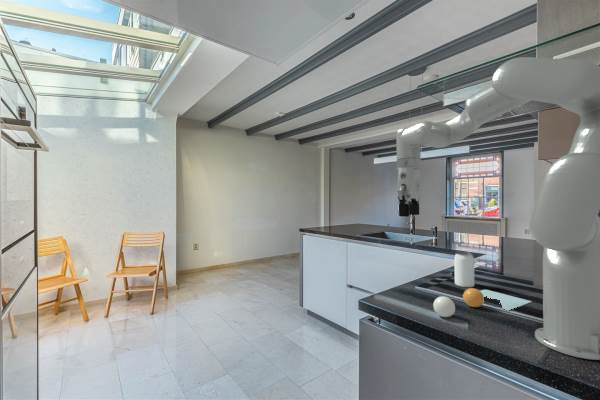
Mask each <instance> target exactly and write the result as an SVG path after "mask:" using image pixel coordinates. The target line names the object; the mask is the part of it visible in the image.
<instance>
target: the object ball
mask: <svg viewBox="0 0 600 400" xmlns="http://www.w3.org/2000/svg"><path fill="white" fill-rule="evenodd" d="M480 291H481V290H479V289H477V288H473V287H471V288H467V289H466V290H464V292H463V295H462V296H463V297H462V298H463V300H464V302H465V303H466V305H468V306H469V307H472V308H480V307H482V306H483V305H484V304H483V303H484V296H483V294H482V293H481V292H480Z"/></svg>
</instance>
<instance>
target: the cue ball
mask: <svg viewBox="0 0 600 400" xmlns="http://www.w3.org/2000/svg"><path fill="white" fill-rule="evenodd" d="M432 305H433V306H432V307H433V310H434V311H435V313H436V314H437V315H438V316H440V317H442V318H450V317H452V316H453V315H454V314H455V311H456V305H455V303H454V301H453V300H452V299H451V298H449V297H448V296H444V295H443V296H442V295H441V296H438V297H437V298H435V299H434V301H433V303H432Z"/></svg>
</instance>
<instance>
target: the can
mask: <svg viewBox="0 0 600 400" xmlns="http://www.w3.org/2000/svg"><path fill="white" fill-rule="evenodd" d="M453 258H454V267H453V268H454V269H453V270H454V284H455V285H456V286H457V287H460V288H467V289H470V288H473V287H475V257H474V255H473V253H471V252H465V251H457V252H455V255H454V257H453Z"/></svg>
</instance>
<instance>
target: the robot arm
mask: <svg viewBox="0 0 600 400" xmlns="http://www.w3.org/2000/svg"><path fill="white" fill-rule="evenodd" d="M531 101H535V102H540V103H545V104H546V103H547V104H552V105H557V106H559V107H561V108H562V109H564V110H566V111H568V112H571V113H574V114H577V115H578V116H579V118H580V123H579V125H578V127H577V129H576V131H575V133H574V136H573V139H572V143H571V145H570V148H569V151H568V154H565V155H562V156H561V157H559V158H557V159H556V160H555V161H553V163H552V164H551V165H550V166H549V167H548V169H547V170H546V173H545V174H544V177H543V179H542V183H541V184H540V189H539V191H538V195H537V198H536V201H535V204H534V206H533V209H532V211H531V212H532V213H531V216H530V220H529V231H530V235H531V237H532V238H533V240H534V241H535V242H537V243H538V244H539V245H540V246H542V247H543V254H542V296H543V297H542V306H543V307H542V312H543V313H542V315H543V318H542V319H543V320H542V321H543V322H542V323H543V327H539V328H537V329H535V331H534V338H535V339H536V340H537V341H538V342H539V343H541V345H543V346H545V347H547V348H549V349H552V350H554V351H556V352H558V353H562V354H564V355H568V356H570V357H574V358H578V359H585V360H590V361H591V360H593V361H597V360H598V361H600V216H599V213H600V65H599V64H597V63H595V62H592V61H590V60H584V59H583V60H582V59H575V58H573V59H572V58H570V59H569V58H549V57H535V56H534V57H533V56H527V57H526V56H521V57H516V58H511V59H509V60H507V61H505V62H503V63H502V64H501V65H499V67H498V68H497V69H496V70H495V71H494V73H493V75H492V77H491V82H490V84H489V85H487V86H485V87H484V88H481V89H480V90H478V91H477V92H474V93H472V94H470V95H469V96H468V97H467V98H466V100H465V103H464V105H465V108H464V109H463V111H462V112H461V113H460V114H459V115H457V116H456V117H453V118H452V119H450V120H448V121H447V122H444V123H442V124H441V123H438V122H433V121H429V120H424V121H421V122H418V123H416V124H413V125H410V126H407V127H406V126H405V127H401V128H399V129H397V131H396V136H395V137H396V144H395V145H396V170H397V171H398V172H397V173H398V174H397V199H398V216H399V217H405V218H406V217H407V218H408V217H410V215H411V216H416V215H417V216H419V215H420V199H421V197H422V195H423V194H422V193H423V192H422V180H421V179H422V178H421V172H420V170H421V168H422V165H421V164H422V163H421V162H422V161H421V146H422V147H428V148H429V147H430V148H436V149H441V148H446V147H449V146H450V145H453V144H455V143H457V142H459V141H461V140H464V139H465V138H467V137H469V136H471V134H473V133H474V132H475V131H477V130H478V129H479V128H480V127H481V126H482V125H484V124H486V123H487V122H489V121H492V120H494V119H495V118H498V117H500V116H502V115H504V114H506V113H508V112H511V111H513V110H514V109H517V108H519V107H521V106H523V105H525V104H528V103H529V102H531Z"/></svg>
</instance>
